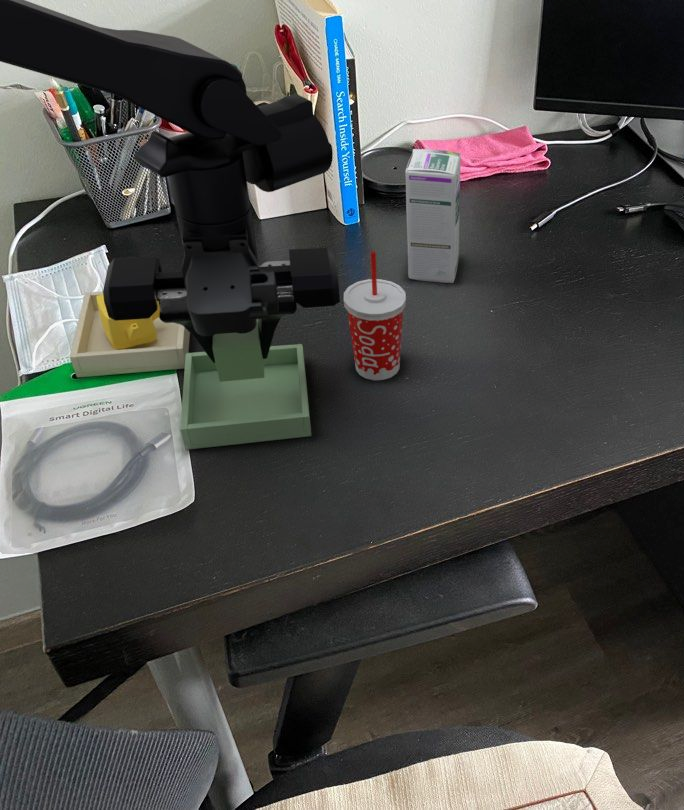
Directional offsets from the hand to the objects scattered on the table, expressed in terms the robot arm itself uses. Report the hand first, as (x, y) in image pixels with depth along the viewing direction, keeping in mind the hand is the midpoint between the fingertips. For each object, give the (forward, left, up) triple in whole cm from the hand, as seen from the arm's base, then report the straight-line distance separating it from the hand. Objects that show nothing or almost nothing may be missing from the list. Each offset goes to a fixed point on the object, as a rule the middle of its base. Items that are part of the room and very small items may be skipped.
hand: (240, 358), depth 77 cm
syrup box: (+22, +22, -6) cm, 32 cm away
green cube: (0, 0, -1) cm, 1 cm away
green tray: (0, 0, -6) cm, 6 cm away
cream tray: (-11, +12, -6) cm, 17 cm away
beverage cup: (+13, +4, -6) cm, 15 cm away
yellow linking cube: (-11, +12, -5) cm, 17 cm away
